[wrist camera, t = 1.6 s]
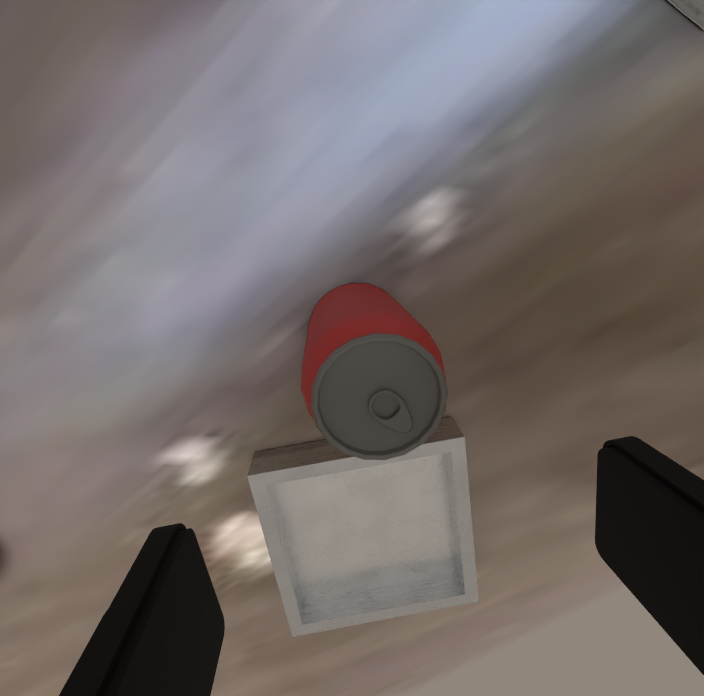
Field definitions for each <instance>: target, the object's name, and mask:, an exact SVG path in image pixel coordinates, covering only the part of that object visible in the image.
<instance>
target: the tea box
mask: <svg viewBox="0 0 704 696" xmlns="http://www.w3.org/2000/svg"><path fill="white" fill-rule="evenodd" d="M667 1H669V2H670V3H671V4H673V5H674V6H675V7H676V8H677V9H678V10H680V11H681V12H682V13H683V14H684V15H686V16H687V17H688V18H690V19H691V20H692V21H693V22H694V23H696V24H697V25H699V26H700V27H701V28H702V29H704V0H667Z"/></svg>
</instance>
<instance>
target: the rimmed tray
mask: <svg viewBox="0 0 704 696" xmlns="http://www.w3.org/2000/svg"><path fill="white" fill-rule="evenodd" d="M247 477H248V480H249V484H250V487H251V491H252V494H253V498H254V502H255V505H256V509H257V512H258V516H259V519H260V523H261V526H262V530H263V534H264V537H265V541H266V544H267V548H268V551H269V555H270V558H271V562H272V566H273V569H274V573H275V576H276V580H277V583H278V587H279V590H280V594H281V598H282V601H283V605H284V608H285V612H286V615H287V619H288V622H289V626H290V630H291V633H292V637H294V636H299V635H304V634H310V633H315V632H320V631H326V630H331V629H336V628H341V627H347V626H352V625H357V624H363V623H368V622H373V621H379V620H384V619H389V618H395V617H400V616H405V615H410V614H416V613H421V612H426V611H432V610H437V609H442V608H448V607H453V606H458V605H464V604H469V603H474V602H479V600H478V589H477V577H476V565H475V553H474V541H473V530H472V518H471V506H470V494H469V482H468V471H467V459H466V447H465V437H464V435H463V434H462V432H461V431H460V429H459V428H458V426H457V425H456V423H455V422H454V420H453V419H452V417H447V418H442V419H441V421H440V423H439V425H438V427H437V429H436V430H435V431H434V432H433V433H432V435H431V436H430V437H429V438H428V439H427V440H426V441H425V442H424V443H423V444H422V445H420V446H419V447H417V448H415V449H414V450H412V451H410V452H408V453H407V454H405V455H402V456H398V457H394V458H391V459H387V460H363V459H360V458H357V457H354V456H350V455H347V454H345V453H343V452H342V451H340V450H339V449H337V448H336V447H334V446H333V445H331V444H330V443H329V442H328V441H327V440H326V439H324V440H318V441H313V442H307V443H302V444H296V445H291V446H285V447H279V448H274V449H268V450H263V451H257V452H255V453H254V456H253V459H252V462H251V466H250V469H249V472H248V475H247Z"/></svg>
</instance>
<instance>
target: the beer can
mask: <svg viewBox="0 0 704 696" xmlns="http://www.w3.org/2000/svg"><path fill="white" fill-rule="evenodd" d="M445 379H446V378H445V373H444V368H443V363H442V358H441V353H440V351H439V349H438V347H437V346H436V344H435V342H434V341H433V339H432V337H431V335H430V334H429V333H428V332H427V331H426V330H425V329H424V328H423V327H422V326H421V325H420V324H419V323H418V322H417V321H416V320H415V319H414V318H413V317H412V316H411V315H410V314H409V313H408V312H407V311H406V310H405V309H404V308H403V307H402V306H401V305H400V304H399V303H398V302H397V301H396V300H395V299H394V298H392V297H391V296H390V295H389V294H388V293H386V292H385V291H384V290H383V289H381V288H378V287H375V286H373V285H370V284H365V283H350V284H346V285H343V286H339V287H336V288H335V289H333V290H332V291H330V292H329V293H327V294H326V295H324V296H323V298H322V299H321V300H320V301H319V303H318V304H317V305H316V306H315V308H314V310H313V313H312V316H311V318H310V321H309V326H308V332H307V339H306V345H305V351H304V357H303V364H302V383H301V389H302V392H303V396H304V399H305V402H306V405H307V408H308V410H309V413H310V415H311V416H312V417H313V419H314V420H315V422H316V426H317V428H318V429H319V430H320V432H321V433H322V434H323V436H324V437H325V438H326V440H327V441H328V442H329V443H330V444H331V445H333V446H334V447H336V448H337V449H339V450H340V451H342V452H343V453H345V454H347V455H350V456H354V457H357V458H360V459H363V460H387V459H391V458H394V457H398V456H402V455H405V454H407V453H408V452H410V451H412V450H414V449H415V448H417V447H419V446H420V445H422V444H423V443H424V442H425V441H426V440H427V439H428V438H429V437H430V436H431V435H432V433H433V432H434V431H435V430H436V429H437V427H438V425H439V423H440V421H441V419H442V417H443V415H444V413H445V407H446V400H447V393H448V392H447V387H446V382H445Z"/></svg>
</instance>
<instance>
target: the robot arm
mask: <svg viewBox="0 0 704 696" xmlns="http://www.w3.org/2000/svg"><path fill="white" fill-rule="evenodd" d="M595 544H596V548H597V550H598V553H599V554H600V556H601V557H602V559H603V560H604V561H605V562H606V564H607V565H608V566H609V567H610V568H611V569H612V570H613V572H614V573H615V574H616V575H617V576H618V577H619V579H620V580H621V581H622V582H623V583H624V584H625V585H626V587H627V588H628V589H629V590H630V591H631V592H632V593H633V595H634V596H635V597H636V598H637V599H638V600H639V602H640V603H641V604H642V605H643V606H644V607H645V608H646V609H647V611H648V612H649V613H650V614H651V615H652V616H653V618H654V619H655V620H656V621H657V622H658V623H659V625H660V626H661V627H662V628H663V629H664V630H665V631H666V632H667V634H668V635H669V636H670V637H671V638H672V639H673V641H674V642H675V643H676V644H677V645H678V646H679V647H680V649H681V650H682V651H683V652H684V653H685V654H686V656H687V657H688V658H689V659H690V660H691V661H692V662H693V663H694V665H695V666H696V667H697V668H698V669H699V670H700V672H701V673H702V674H703V675H704V480H702V479H701V478H699V477H698V476H696V475H695V474H693V473H691V472H690V471H688V470H687V469H685V468H684V467H682V466H681V465H679V464H678V463H676V462H674V461H673V460H671V459H670V458H668V457H667V456H665V455H664V454H662V453H660V452H659V451H657V450H656V449H654V448H653V447H651V446H650V445H648V444H647V443H645V442H643V441H642V440H640V439H639V438H637V437H633V436H629V437H624V438H619V439H614V440H609V441H606V442H605V443H604V445H603V448H602V449H600V450H599V452H598V463H597V495H596V527H595ZM224 629H225V625H224V617H223V614H222V611H221V608H220V605H219V602H218V599H217V596H216V594H215V591H214V588H213V585H212V582H211V579H210V576H209V573H208V570H207V568H206V565H205V562H204V559H203V556H202V553H201V550H200V547H199V545H198V542H197V539H196V536H195V533H194V531H193V530H192V529H190V528H189V529H186V527H185V526H184V525H183V524H181V523H179V524H174V525H168V526H163V527H158V528H155V529H153V530H152V531H151V533H150V534H149V536H148V538H147V540H146V542H145V543H144V545H143V547H142V549H141V551H140V553H139V554H138V556H137V558H136V560H135V562H134V563H133V565H132V567H131V569H130V571H129V572H128V574H127V576H126V578H125V580H124V582H123V583H122V585H121V587H120V589H119V591H118V592H117V594H116V596H115V598H114V600H113V601H112V603H111V605H110V607H109V609H108V610H107V611H106V613H105V614H104V616H103V617H102V619H101V621H100V623H99V624H98V626H97V628H96V630H95V632H94V634H93V635H92V637H91V639H90V641H89V643H88V644H87V646H86V648H85V650H84V652H83V653H82V655H81V657H80V659H79V661H78V662H77V664H76V666H75V668H74V670H73V671H72V673H71V675H70V677H69V679H68V680H67V682H66V684H65V686H64V688H63V689H62V691H61V693H60V695H59V696H210V694H211V690H212V685H213V681H214V677H215V672H216V668H217V664H218V659H219V655H220V651H221V646H222V642H223V637H224Z"/></svg>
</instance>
